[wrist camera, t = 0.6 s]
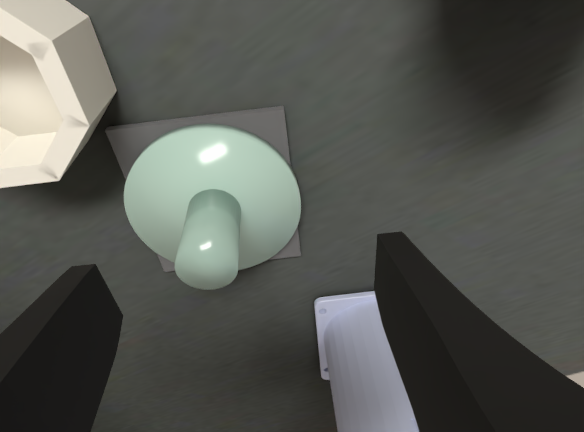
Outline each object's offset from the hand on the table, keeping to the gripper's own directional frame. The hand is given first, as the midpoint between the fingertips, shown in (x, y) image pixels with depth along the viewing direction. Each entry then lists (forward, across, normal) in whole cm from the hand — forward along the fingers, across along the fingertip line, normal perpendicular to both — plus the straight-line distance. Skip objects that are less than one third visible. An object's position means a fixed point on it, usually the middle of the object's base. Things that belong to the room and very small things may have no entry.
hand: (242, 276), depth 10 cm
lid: (+10, +2, +4) cm, 11 cm away
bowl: (+10, +9, -3) cm, 14 cm away
